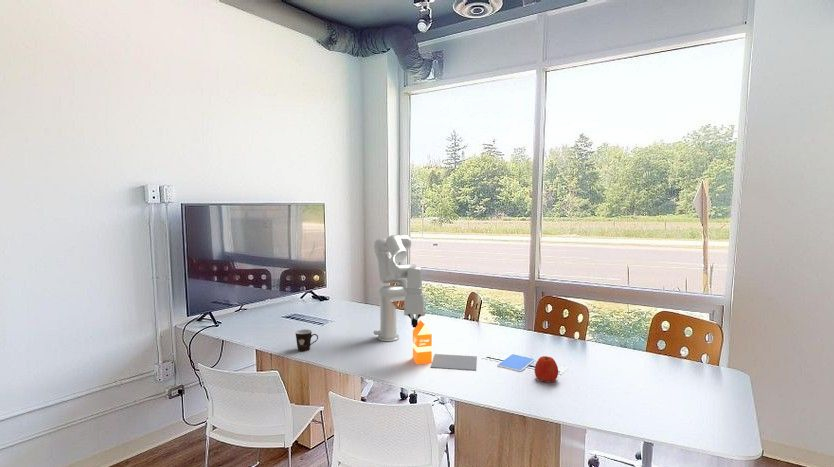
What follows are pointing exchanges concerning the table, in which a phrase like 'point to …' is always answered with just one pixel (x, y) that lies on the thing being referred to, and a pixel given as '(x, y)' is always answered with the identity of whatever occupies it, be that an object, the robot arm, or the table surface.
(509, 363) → the tablet computer
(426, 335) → the orange juice
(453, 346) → the table surface
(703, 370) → the table surface
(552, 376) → the apple
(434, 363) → the mat
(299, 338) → the coffee mug
